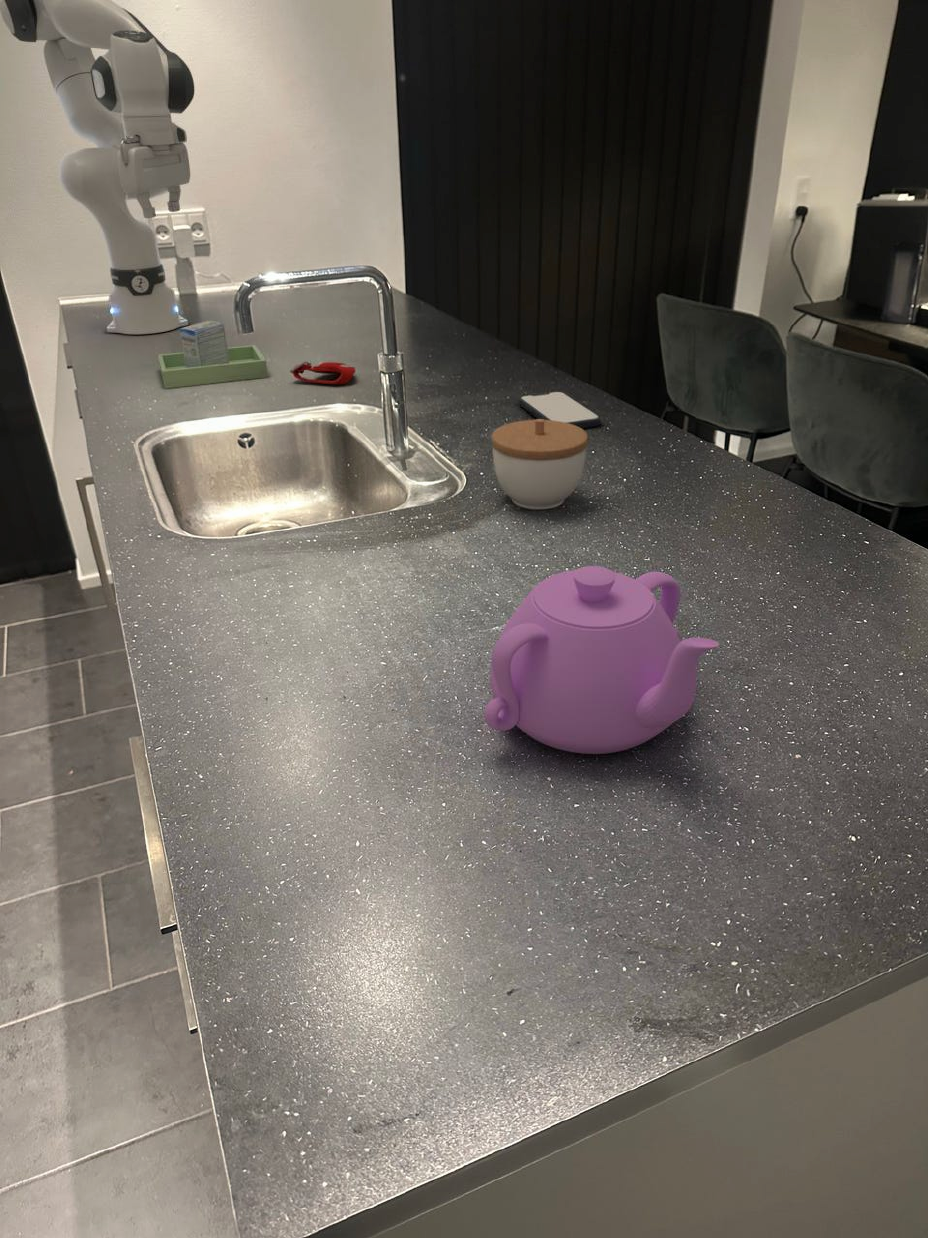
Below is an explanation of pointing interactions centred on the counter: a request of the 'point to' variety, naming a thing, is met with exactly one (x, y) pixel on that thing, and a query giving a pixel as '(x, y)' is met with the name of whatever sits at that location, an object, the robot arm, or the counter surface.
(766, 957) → the counter surface
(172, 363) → the tray
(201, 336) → the medicine box
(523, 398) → the phone case
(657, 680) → the teapot
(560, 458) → the lidded bowl
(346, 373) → the tracker holder
